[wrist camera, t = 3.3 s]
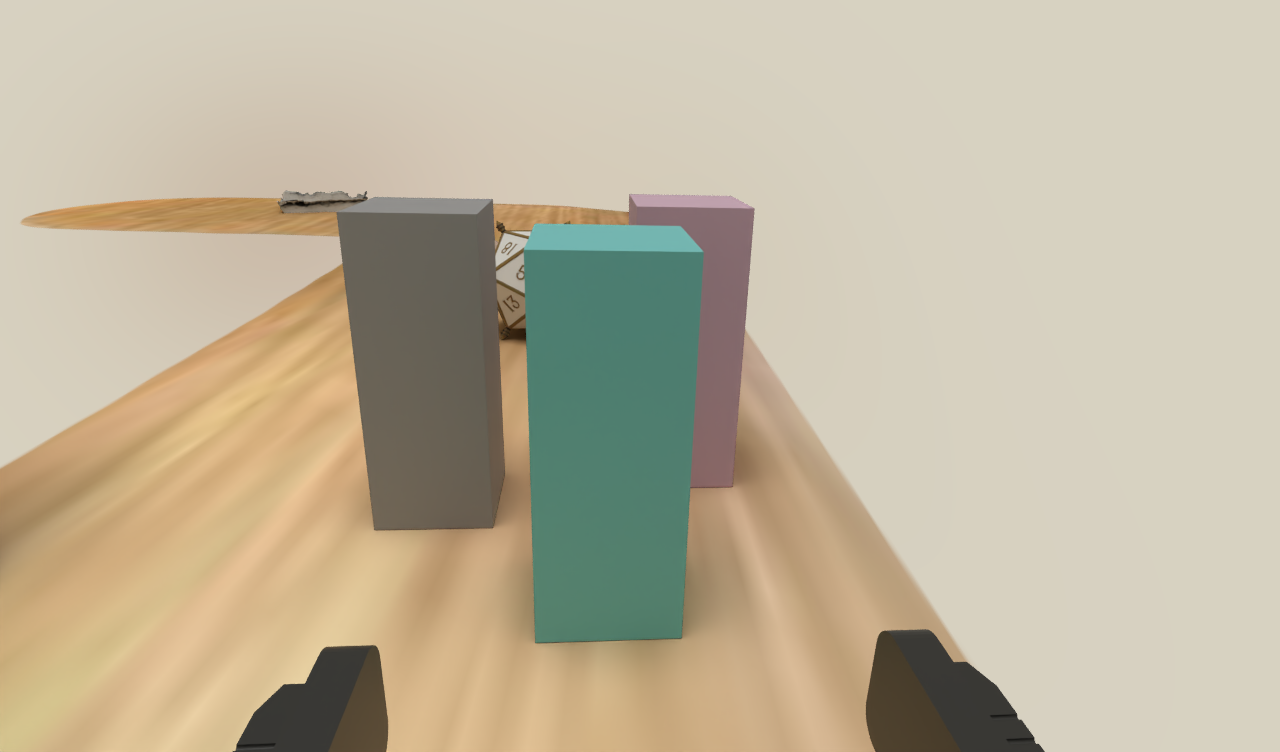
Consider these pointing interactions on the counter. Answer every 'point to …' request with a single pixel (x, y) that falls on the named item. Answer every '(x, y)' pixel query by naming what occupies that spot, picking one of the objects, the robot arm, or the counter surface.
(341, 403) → the counter surface
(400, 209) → the charcoal block
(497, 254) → the game die
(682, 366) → the teal block
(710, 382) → the plum block
